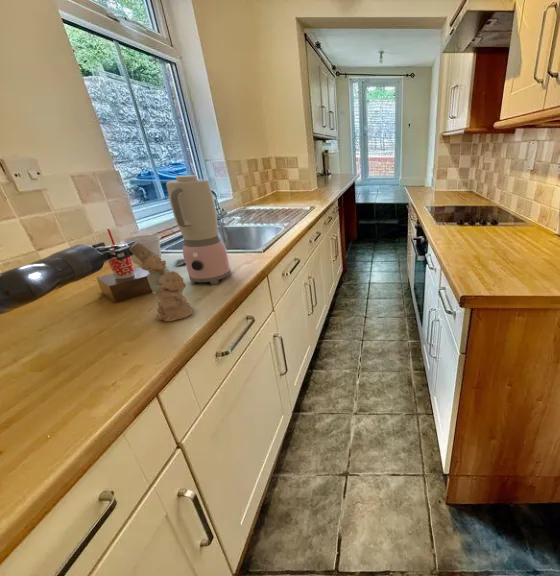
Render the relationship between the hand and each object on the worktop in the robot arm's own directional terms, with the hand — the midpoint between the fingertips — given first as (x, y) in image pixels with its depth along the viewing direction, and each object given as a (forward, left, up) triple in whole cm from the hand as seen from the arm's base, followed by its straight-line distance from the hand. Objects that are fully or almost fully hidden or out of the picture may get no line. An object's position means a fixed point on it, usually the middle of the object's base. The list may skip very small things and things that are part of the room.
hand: (119, 245), depth 92 cm
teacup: (+10, +20, -14) cm, 26 cm away
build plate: (+24, +11, -14) cm, 29 cm away
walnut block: (-1, -1, -14) cm, 14 cm away
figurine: (0, -28, -14) cm, 32 cm away
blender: (+17, -12, -14) cm, 25 cm away
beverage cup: (-1, -1, -9) cm, 9 cm away
